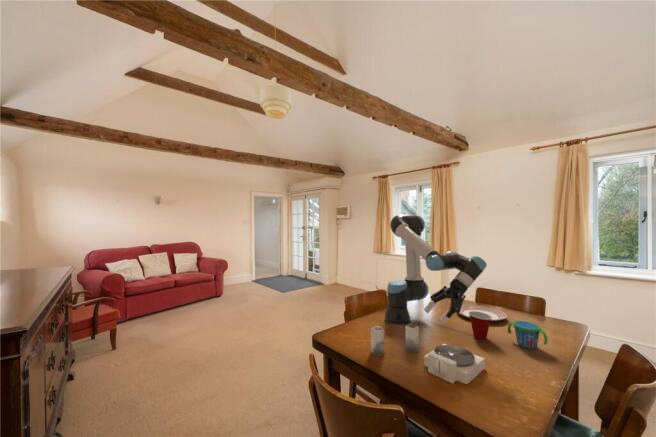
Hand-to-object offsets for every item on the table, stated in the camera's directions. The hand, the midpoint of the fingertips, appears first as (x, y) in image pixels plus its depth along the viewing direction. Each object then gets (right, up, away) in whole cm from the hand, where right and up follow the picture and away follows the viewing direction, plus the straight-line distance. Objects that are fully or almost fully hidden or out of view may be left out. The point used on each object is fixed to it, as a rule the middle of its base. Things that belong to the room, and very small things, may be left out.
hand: (433, 316), depth 124 cm
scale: (+1, -15, -17) cm, 23 cm away
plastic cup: (+29, -15, +11) cm, 35 cm away
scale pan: (+2, -10, -16) cm, 19 cm away
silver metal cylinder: (-11, -15, -2) cm, 19 cm away
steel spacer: (-27, -15, -4) cm, 31 cm away
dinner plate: (+46, -16, +41) cm, 64 cm away
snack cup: (+46, -15, +2) cm, 48 cm away
